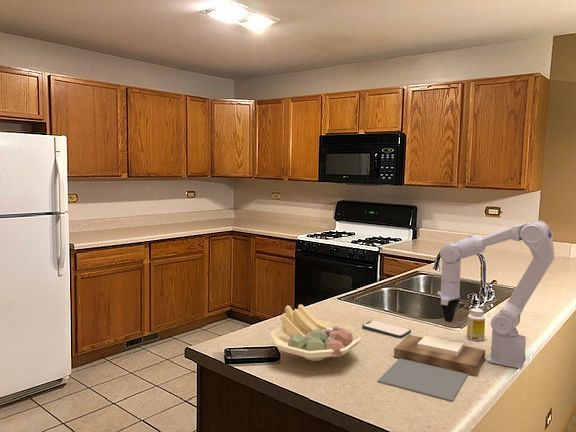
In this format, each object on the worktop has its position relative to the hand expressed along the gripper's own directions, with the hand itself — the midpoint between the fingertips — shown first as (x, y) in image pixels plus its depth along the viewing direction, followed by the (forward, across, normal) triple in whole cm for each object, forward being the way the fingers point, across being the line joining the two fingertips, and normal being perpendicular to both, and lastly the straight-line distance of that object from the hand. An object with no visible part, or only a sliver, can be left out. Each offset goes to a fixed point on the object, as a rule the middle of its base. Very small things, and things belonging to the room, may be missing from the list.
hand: (448, 321), depth 152 cm
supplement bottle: (+9, -14, +6) cm, 17 cm away
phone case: (+10, -4, -23) cm, 25 cm away
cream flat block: (+6, +10, 0) cm, 11 cm away
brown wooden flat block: (+9, +10, 0) cm, 14 cm away
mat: (+9, +27, 0) cm, 28 cm away
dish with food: (+9, +30, -33) cm, 46 cm away
